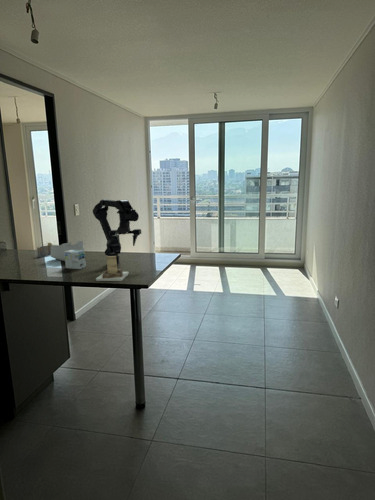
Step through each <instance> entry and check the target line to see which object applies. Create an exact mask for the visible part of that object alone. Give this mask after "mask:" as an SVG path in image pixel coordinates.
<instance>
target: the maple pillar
mask: <svg viewBox="0 0 375 500" xmlns="http://www.w3.org/2000/svg"><path fill="white" fill-rule="evenodd" d="M106 263H107V265H106V266H107V268H106V269H107V271H108V275H109V274H117V270H118V264H117V260H116V256H107V255H106Z"/></svg>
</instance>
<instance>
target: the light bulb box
mask: <svg viewBox="0 0 375 500" xmlns="http://www.w3.org/2000/svg"><path fill="white" fill-rule="evenodd" d="M85 252H86V251H85V249H84V250H69V251H65V252H64V256H65V261H64V263H65V269H69V270H72V269H73V270H81V269H84V268H86V267H87V263H86V254H85Z"/></svg>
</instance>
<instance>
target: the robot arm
mask: <svg viewBox="0 0 375 500" xmlns="http://www.w3.org/2000/svg"><path fill="white" fill-rule="evenodd" d="M109 207H111V208H115V209H116V210H118V211H116V214H118V218H119V224H118V227H117V229H112V228H111V225H110V222H109V220H108V211H109ZM92 214H93V216H94V218H95V219H96V220H98V221H99V224H100V226H101V229H102V231H103V233H104V236H105V240H106V244H105V245H106V249H105V251H104V254H105V256H106V257H107V256H116V260H117V265H118V264H119V263H120V255H119V254H121V250H122V244H121V242H120V235H126V234H128V235H129V234H130V235H131V234H132V245H133V246H132V247H135V246H136V241H137V238H138V236H140V235H141V234H142V229H141V228H135V229H133V230H131V226H130V224H131V222H137V221H138V220H139V218H140V217H139V213H138V212H137V211H136V209H134V208H133V206H132V205H131V203H130V201H129V200H128V199H117V200H112V199H101V200H99V202H98V203H97V204H96V205H94V207H93V209H92Z"/></svg>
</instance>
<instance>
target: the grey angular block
mask: <svg viewBox="0 0 375 500" xmlns="http://www.w3.org/2000/svg"><path fill="white" fill-rule="evenodd" d="M69 250H84V251H85V247H84V241H83V240H77V241H76V244H72V242H65V243H62V244H60V245H59V244H57V245H56V244H52V246H51V254H50V255H49V256H50V258H53V259H56V260H58V261H62V262H65V256H64V252H65V251H69Z"/></svg>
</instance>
